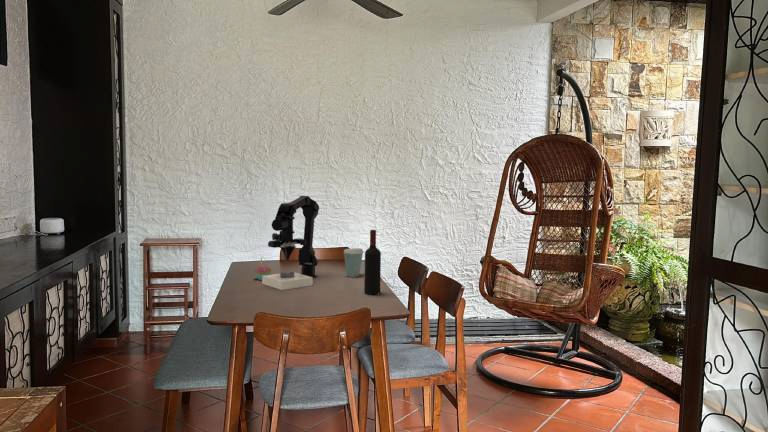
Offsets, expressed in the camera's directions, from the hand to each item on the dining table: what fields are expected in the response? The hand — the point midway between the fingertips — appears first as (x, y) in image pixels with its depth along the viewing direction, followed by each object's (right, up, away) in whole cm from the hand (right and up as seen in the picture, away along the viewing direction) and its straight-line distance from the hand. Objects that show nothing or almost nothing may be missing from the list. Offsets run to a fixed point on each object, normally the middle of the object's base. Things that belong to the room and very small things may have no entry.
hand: (287, 260), depth 312 cm
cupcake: (-15, -11, +14) cm, 23 cm away
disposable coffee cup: (+32, -11, +26) cm, 42 cm away
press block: (0, -12, +1) cm, 12 cm away
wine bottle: (+43, -15, -16) cm, 48 cm away
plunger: (0, -12, +1) cm, 12 cm away
